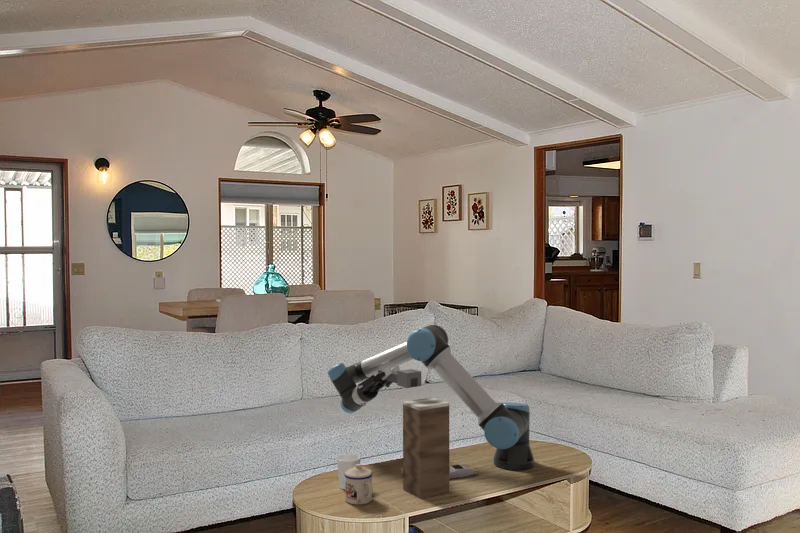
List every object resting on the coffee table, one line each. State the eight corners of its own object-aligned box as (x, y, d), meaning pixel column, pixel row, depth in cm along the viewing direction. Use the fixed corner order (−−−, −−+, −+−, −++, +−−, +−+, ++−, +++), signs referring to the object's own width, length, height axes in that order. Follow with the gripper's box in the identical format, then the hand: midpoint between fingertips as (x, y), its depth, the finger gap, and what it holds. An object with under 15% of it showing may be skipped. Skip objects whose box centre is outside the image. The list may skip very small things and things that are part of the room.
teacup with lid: (339, 499, 226) (339, 463, 226) (362, 493, 232) (362, 458, 231) (359, 510, 217) (359, 473, 216) (383, 503, 222) (383, 467, 222)
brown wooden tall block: (403, 489, 234) (402, 401, 233) (431, 483, 241) (431, 397, 240) (420, 498, 226) (420, 407, 225) (449, 491, 233) (449, 402, 232)
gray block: (374, 378, 254) (374, 364, 254) (388, 376, 257) (388, 363, 257) (407, 387, 237) (407, 373, 236) (421, 385, 240) (421, 371, 240)
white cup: (333, 485, 239) (333, 456, 239) (354, 481, 243) (354, 453, 243) (343, 492, 232) (343, 462, 232) (364, 488, 236) (364, 459, 236)
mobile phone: (407, 462, 246) (471, 454, 254) (407, 478, 247) (471, 470, 255) (412, 467, 241) (478, 459, 249) (412, 484, 241) (478, 476, 249)
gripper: (385, 398, 269) (415, 376, 251) (349, 404, 260) (378, 381, 242) (380, 380, 271) (410, 357, 254) (344, 385, 262) (372, 361, 245)
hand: (394, 369), depth 248 cm, fingers closed on gray block, 3 cm apart
